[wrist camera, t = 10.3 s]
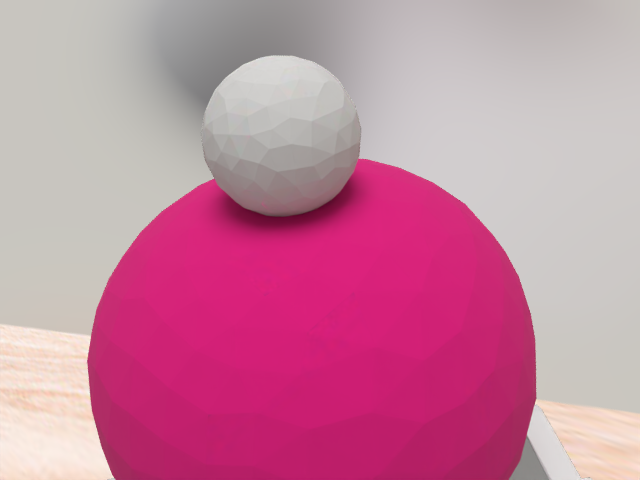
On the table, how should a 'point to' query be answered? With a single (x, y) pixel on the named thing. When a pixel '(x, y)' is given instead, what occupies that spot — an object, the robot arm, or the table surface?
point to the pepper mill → (310, 311)
